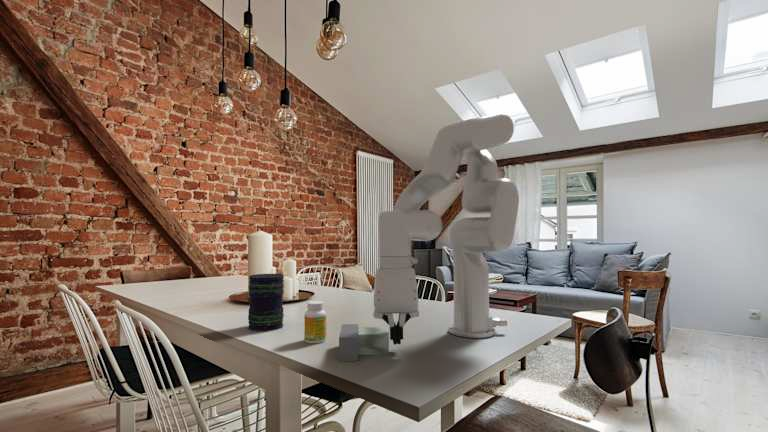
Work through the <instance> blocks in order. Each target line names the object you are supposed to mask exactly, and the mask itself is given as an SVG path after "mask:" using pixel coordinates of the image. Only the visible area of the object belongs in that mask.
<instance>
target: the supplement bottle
mask: <svg viewBox="0 0 768 432" xmlns="http://www.w3.org/2000/svg"><path fill="white" fill-rule="evenodd" d="M306 308H307V309H308V310H306V311H305V312H304V337H303V338H304V342H305V343H307V344H321V343H324V342H326V340H327V339H326V337H327V313H326V311H325V310H324V301H321V300H320V301H319V300H312V301H308V302H307V307H306Z"/></svg>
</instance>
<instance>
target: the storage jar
mask: <svg viewBox="0 0 768 432" xmlns="http://www.w3.org/2000/svg"><path fill="white" fill-rule="evenodd" d="M248 278H249V281H248V297H249V309H248V316H247V320H248V328H247V329H248V330H249V331H252V332H271V331H276V330H277V331H278V330H279V329H283V327H284V323H283V322H284V307H283V299H284V297H283V295H284V292H285V291H284V288H285V283H284V278H285V275H284V274H283V273H257V274H251V275H249V277H248Z"/></svg>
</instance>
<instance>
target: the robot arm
mask: <svg viewBox="0 0 768 432" xmlns="http://www.w3.org/2000/svg"><path fill="white" fill-rule="evenodd" d="M514 131H515V126H514V122H513V120H512V118H511V117H510V116H509V115H508V114H507V113H505V112H501V111H499V112H496V113H492V114H491V113H490V114H488V115H484V116H479V117H473V118H468V119H466V120H462V121H458V122H456V123H451V124H448V125H446V126H443V127H441V128H440V129H439V130H438V132H437V134H436V137H435V139H434V141H433V144H432V146H431V148H430V151H429V153H428V156H427V158H426V160H425V163H424V166H423V167H422V170H421V171H420V173H418V174H417V176H415V177H414V178H413V179H412V181H411V182H410V183H409V184H408V185H407V186H406V187H405V188H404V189H403V191H402V192H401V193H400V194H399V196H398V198H397V199H396V202H395V203H394V204H395V205H394V207H393V208H392V210H384V211H382V212H380V213H379V215H378V255H379V256H378V262H379V264H378V266H379V268H377V269H376V270H375V274H374V284H373V285H374V286H373V306H374V309H373V315H372V316H373V318H375V319H379V320H383V321H384V322H385V323H386V324H387V325H388V326H389V341H392V343H393V345H394V346H395V345H401V344H402V343H401V342H402V341H401V340H404V326H405V325H406V324H407V322H409V320H410V319H414V318H417V317H419V316H420V312H419V293H418V284H417V283H418V282H417V276H416V271H415V268H413V265H417V264H418V262H419V260H418V259H419V258H417V257H413V256H412V241H417V242H428V241H432V240H435V239H436V238H437V237H438V236H439V235H440V234H441V232H442V230H443V220H442V218H441V217H440V215H439V214H438V213H436V212H435V211H433V210H430V209H421V207H422V206H423V205H424V204H425V203H426V202H427V201H428V200H430V199H432V198H433V197H435V196H436V195H438V194H440V193H441V192H443V191H445V190H447V188H449V187H450V186H451V185H452V184H453V183H454V180H455V178H456V175H457V173H458V169H459V166H460V164H461V161H462V159H463V157H465V160H466V163H467V165H466V166H467V170H466V175H465V181H464V187H463V190H462V191H463V192H462V196H461V206H462V208H463V211H465V213H467V214H471V215H490V216H480V217H479V216H478V217H477V216H476V217H463V218H459V219H458V220H456V221H454V223H453V224H452V225H451V227H450V230H449V241H450V247H451V251H452V259H453V260H452V261H453V324H450V325H449V326H448V328H447V329H448V332H449V334H452V335H453V336H457V337H461V338H471V339H485V338H490V337H493V336H494V335H496V329H495V328H496V327H507V326H508V321H507V319H506V318H499V317H492V316H491V315H490V283H489V281H490V273H489V271H490V270H489V264H488V261H487V260H486V257H485V256H484V254H483V253H485V254H502V253H505V252H507V251H508V250H509V249H510V248H511V245H512V244H513V241H514V236H515V229H516V223H517V218H518V212H519V203H520V197H519V196H520V195H519V191H518V188H517V186H516V184H515V183H514V182H513V181H512V180H510V179H509V178H503V177H502V178H501V177H500V178H497V176H498V163H497V161H496V159H495V158H494V156H493V155H492V154H491V153H490V151H489V150H490V149H492V148H495V147H498V146H502V145H504V144H507V143H508V142H509V141H511V139H512V137H513V135H514ZM394 314H398V320H397V322H395V319H394Z"/></svg>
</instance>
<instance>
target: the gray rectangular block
mask: <svg viewBox="0 0 768 432" xmlns="http://www.w3.org/2000/svg"><path fill="white" fill-rule="evenodd" d="M358 332H359V323H351V324H349V323H348V324H347V323H345V324H344V323H343V324H342V323H341V327H340V332H339V336H338V361H339V362H358V360H359V355H358Z"/></svg>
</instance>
